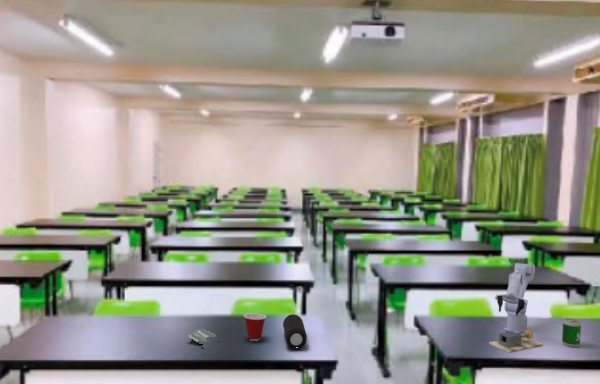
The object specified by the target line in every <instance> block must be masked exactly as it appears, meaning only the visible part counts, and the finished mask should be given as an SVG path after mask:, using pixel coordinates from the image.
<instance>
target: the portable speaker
mask: <svg viewBox="0 0 600 384" xmlns="http://www.w3.org/2000/svg"><path fill="white" fill-rule="evenodd" d="M304 324H305V323H304V321H303V319H302V317H300V316H299V314H298V315H297V314H295V313H293V314H289V315H287V316H286V317H285V318H284V319H283V322H282V326H283V331H284V338H285V339H284V340H285V343H286V345H287V347H289V348H290V347H291V348H290V349H292V348H296V347H298V348H300V349H302V348H304V346H305V345H306V343H307V342H308V335H307V332H306V329H305V325H304Z"/></svg>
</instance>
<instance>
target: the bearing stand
mask: <svg viewBox="0 0 600 384" xmlns="http://www.w3.org/2000/svg"><path fill="white" fill-rule="evenodd" d="M521 334H522V333H516V332H513V331H502V332H499V333H498V340H494V341H489V342H488V344H489V345H491V346H493V347H495V348H497V349H500V350H502V351H504V352H507V353H514V352H518V351H519V352H520V351H524V350H529V349H535V348H539V347H543V345H544V344H543V343H542V342H539V341H535V340H533V339H532V338H530V339H527V338H526V337H525V338H522V335H521Z"/></svg>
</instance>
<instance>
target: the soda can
mask: <svg viewBox="0 0 600 384" xmlns="http://www.w3.org/2000/svg"><path fill="white" fill-rule="evenodd" d="M581 329H582V324H581V322H580V321H579V320H577V319H575V318H565V319H564V320H563V321H562V336H561V337H562V339H561V343H562V344H563V345H564V346H565V347H568V348H572V349H573V348H575V349H576V348H578V347H579V346H580V345H581Z"/></svg>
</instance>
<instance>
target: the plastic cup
mask: <svg viewBox="0 0 600 384" xmlns="http://www.w3.org/2000/svg"><path fill="white" fill-rule="evenodd" d="M243 317H244V321H245V327H246V334H247V338H249V339H259V338H261V339H262V335H263V334H262V333H263V328H264V323H265V321H266V319H267V316H266V315H265V314H262V313H255V312H249V313H245V314H243Z"/></svg>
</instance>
